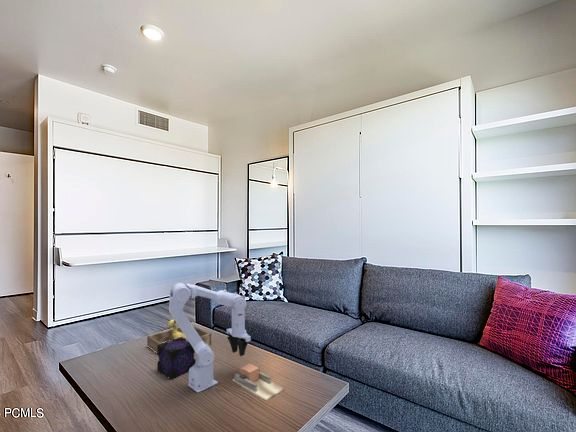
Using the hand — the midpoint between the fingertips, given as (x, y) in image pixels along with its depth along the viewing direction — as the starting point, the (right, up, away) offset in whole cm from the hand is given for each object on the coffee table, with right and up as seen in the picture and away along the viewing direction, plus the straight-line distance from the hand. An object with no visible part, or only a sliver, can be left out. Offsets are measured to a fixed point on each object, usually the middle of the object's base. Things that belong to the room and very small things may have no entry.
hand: (238, 353), depth 132 cm
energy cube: (-29, -10, +5) cm, 31 cm away
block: (+6, -9, -5) cm, 12 cm away
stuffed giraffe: (-37, -10, +31) cm, 50 cm away
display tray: (-37, -10, +31) cm, 50 cm away
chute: (+9, -9, -9) cm, 16 cm away
